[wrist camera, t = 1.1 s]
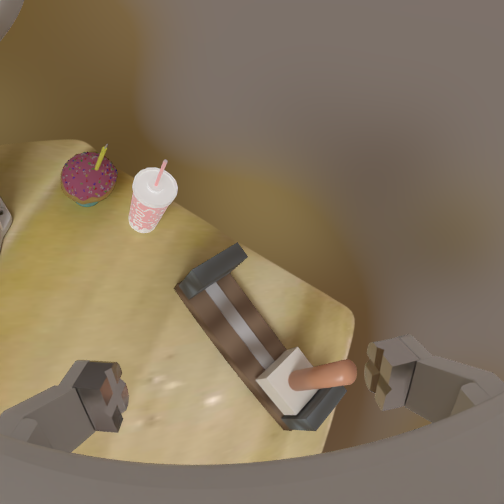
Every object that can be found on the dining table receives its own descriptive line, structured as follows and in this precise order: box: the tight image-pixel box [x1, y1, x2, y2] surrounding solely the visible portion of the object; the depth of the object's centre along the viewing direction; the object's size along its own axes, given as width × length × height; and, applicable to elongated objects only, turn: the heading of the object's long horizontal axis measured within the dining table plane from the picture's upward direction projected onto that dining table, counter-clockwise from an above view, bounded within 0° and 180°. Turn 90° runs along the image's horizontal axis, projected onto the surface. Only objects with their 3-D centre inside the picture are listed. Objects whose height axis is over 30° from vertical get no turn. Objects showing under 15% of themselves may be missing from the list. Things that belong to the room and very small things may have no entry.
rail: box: [174, 242, 347, 431], centre depth 42 cm, size 27×8×8 cm, turn 42°
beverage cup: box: [129, 160, 178, 233], centre depth 41 cm, size 6×6×14 cm
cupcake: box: [61, 144, 118, 207], centre depth 38 cm, size 9×8×12 cm
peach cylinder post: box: [256, 347, 357, 415], centre depth 38 cm, size 7×7×13 cm
